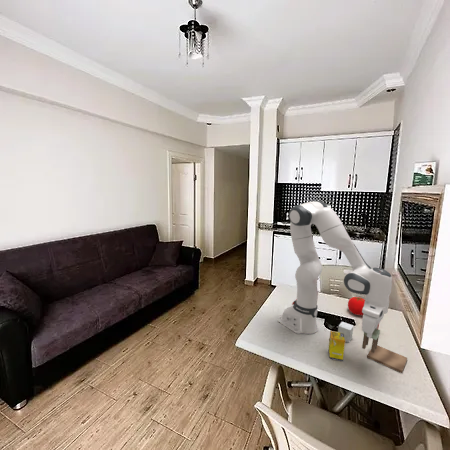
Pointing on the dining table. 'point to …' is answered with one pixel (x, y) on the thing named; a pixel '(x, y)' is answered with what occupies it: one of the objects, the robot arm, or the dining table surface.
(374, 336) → the stool
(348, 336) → the product box
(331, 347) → the supplement box
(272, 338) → the dining table surface
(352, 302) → the tomato
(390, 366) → the walnut board
